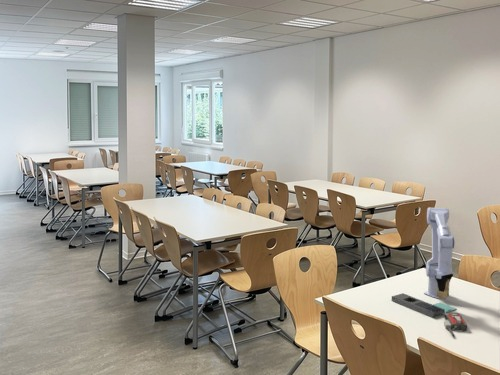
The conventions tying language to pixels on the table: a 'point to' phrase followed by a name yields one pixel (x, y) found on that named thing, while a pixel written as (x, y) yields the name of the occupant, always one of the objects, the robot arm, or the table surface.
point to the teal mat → (445, 307)
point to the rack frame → (418, 305)
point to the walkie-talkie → (454, 323)
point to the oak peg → (446, 291)
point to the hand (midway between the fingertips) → (443, 289)
